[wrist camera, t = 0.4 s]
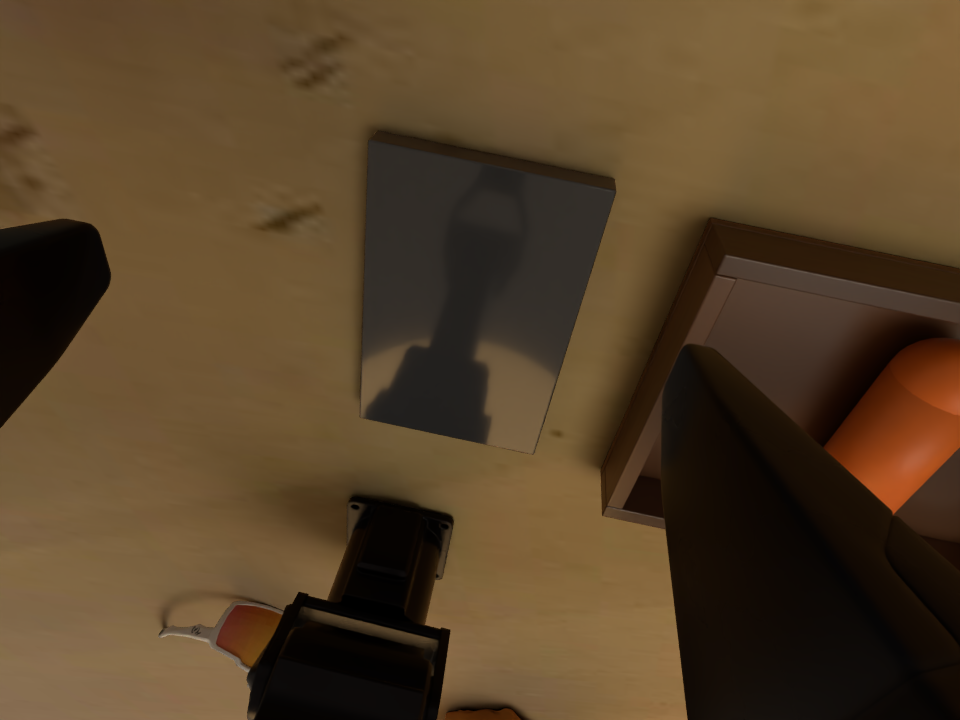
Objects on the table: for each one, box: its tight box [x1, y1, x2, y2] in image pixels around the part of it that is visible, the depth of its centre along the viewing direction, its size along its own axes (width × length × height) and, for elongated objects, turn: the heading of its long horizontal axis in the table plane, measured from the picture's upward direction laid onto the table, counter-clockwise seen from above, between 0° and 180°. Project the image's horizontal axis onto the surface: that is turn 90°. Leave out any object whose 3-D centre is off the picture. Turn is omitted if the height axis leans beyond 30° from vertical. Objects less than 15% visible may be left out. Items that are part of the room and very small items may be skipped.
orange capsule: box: [823, 338, 960, 514], centre depth 24 cm, size 11×4×4 cm, turn 171°
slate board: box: [360, 131, 616, 455], centre depth 25 cm, size 14×9×1 cm, turn 171°
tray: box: [601, 218, 960, 571], centre depth 25 cm, size 15×20×3 cm
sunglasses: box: [158, 601, 283, 687], centre depth 48 cm, size 14×15×5 cm
